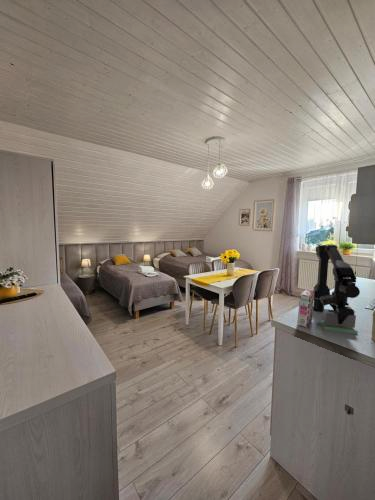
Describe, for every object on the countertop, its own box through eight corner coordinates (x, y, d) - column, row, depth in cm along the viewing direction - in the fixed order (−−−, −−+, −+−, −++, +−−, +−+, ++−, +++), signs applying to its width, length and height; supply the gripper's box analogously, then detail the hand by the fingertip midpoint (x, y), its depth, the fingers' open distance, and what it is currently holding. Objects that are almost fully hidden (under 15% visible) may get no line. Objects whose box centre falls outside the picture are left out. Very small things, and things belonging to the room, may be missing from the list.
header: (319, 322, 117) (320, 313, 116) (350, 326, 112) (351, 317, 112) (324, 329, 109) (324, 319, 108) (357, 334, 105) (358, 323, 104)
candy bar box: (307, 328, 110) (310, 296, 108) (297, 325, 113) (299, 294, 111) (312, 321, 119) (314, 291, 117) (302, 318, 122) (304, 289, 120)
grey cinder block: (322, 320, 115) (323, 308, 114) (350, 323, 111) (351, 312, 110) (325, 324, 110) (326, 312, 109) (354, 327, 106) (355, 315, 106)
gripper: (317, 285, 120) (315, 312, 122) (328, 295, 102) (325, 327, 104) (341, 287, 117) (338, 315, 118) (356, 298, 99) (353, 331, 101)
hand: (338, 321), depth 110 cm, fingers closed on grey cinder block, 5 cm apart
